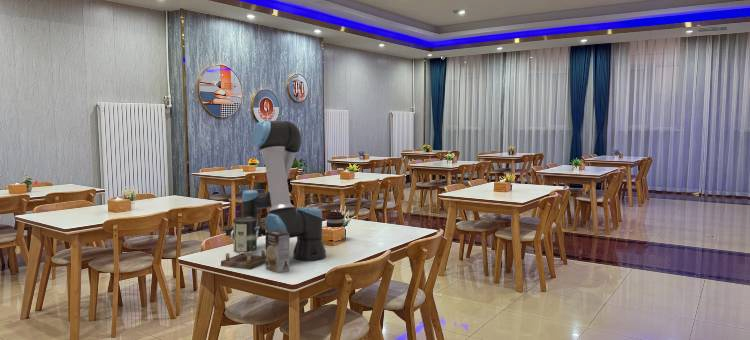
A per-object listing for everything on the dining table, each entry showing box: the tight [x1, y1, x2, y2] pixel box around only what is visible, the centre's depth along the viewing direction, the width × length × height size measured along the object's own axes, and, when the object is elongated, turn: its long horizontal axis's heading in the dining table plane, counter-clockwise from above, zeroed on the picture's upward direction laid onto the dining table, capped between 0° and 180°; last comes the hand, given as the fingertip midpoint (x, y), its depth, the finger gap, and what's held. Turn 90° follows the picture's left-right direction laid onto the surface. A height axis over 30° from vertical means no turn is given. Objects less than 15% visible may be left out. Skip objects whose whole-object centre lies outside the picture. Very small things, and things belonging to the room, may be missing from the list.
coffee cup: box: [325, 211, 345, 228], centre depth 284 cm, size 10×10×15 cm
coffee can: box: [232, 217, 258, 254], centre depth 233 cm, size 10×10×14 cm
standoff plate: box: [220, 250, 266, 270], centre depth 234 cm, size 15×15×5 cm
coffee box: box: [265, 230, 290, 274], centre depth 224 cm, size 9×6×16 cm
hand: (244, 236), depth 229 cm, fingers closed on coffee can, 10 cm apart
